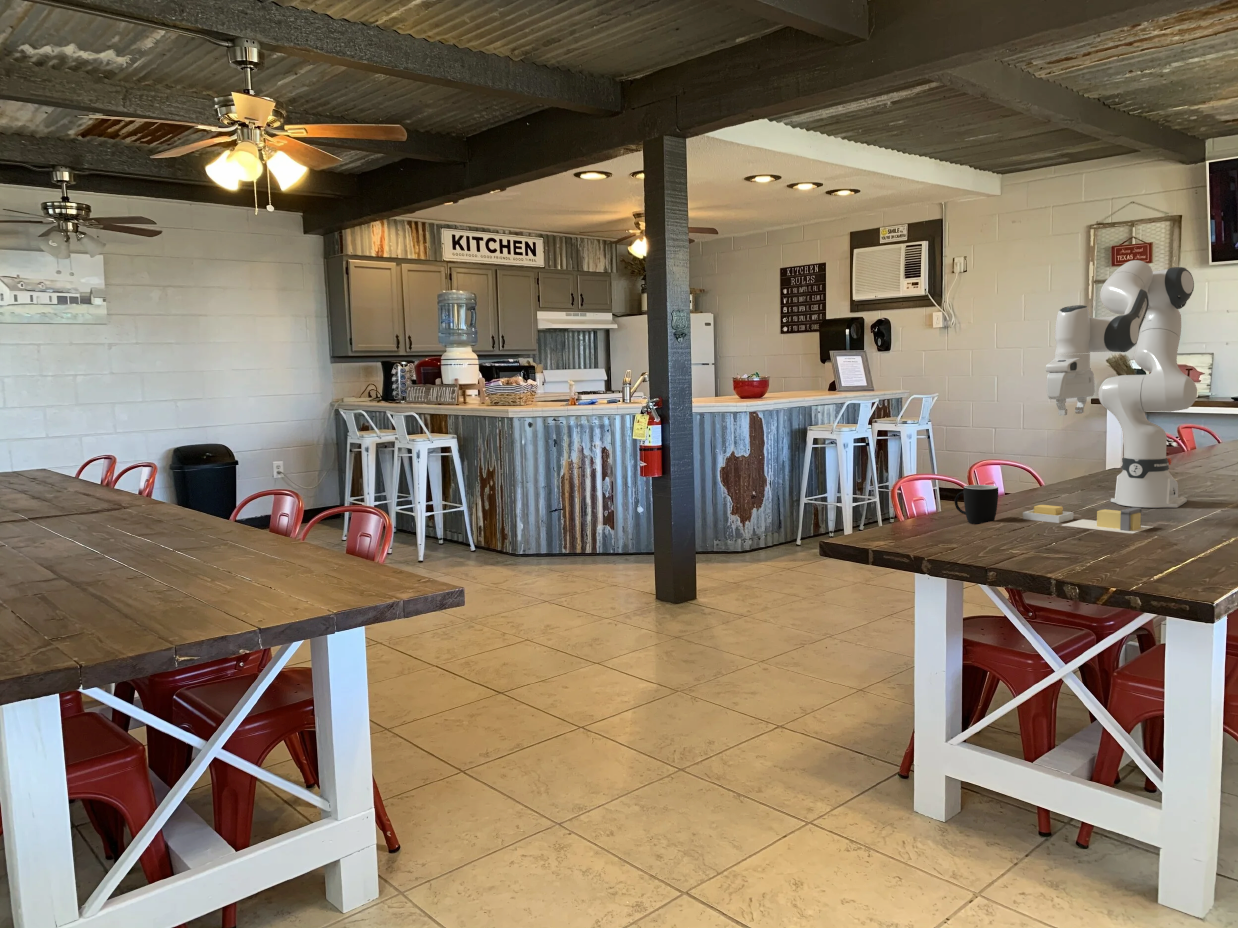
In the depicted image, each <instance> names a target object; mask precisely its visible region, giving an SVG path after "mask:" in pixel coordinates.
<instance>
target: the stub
mask: <svg viewBox="0 0 1238 928" xmlns="http://www.w3.org/2000/svg"><path fill="white" fill-rule="evenodd" d="M1033 510H1034V513H1038V514H1047V515H1057V516H1058V515H1062V514H1063V511H1064V506H1060V505H1059V506H1058V505H1048V504H1038V505H1034V506H1033Z"/></svg>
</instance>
